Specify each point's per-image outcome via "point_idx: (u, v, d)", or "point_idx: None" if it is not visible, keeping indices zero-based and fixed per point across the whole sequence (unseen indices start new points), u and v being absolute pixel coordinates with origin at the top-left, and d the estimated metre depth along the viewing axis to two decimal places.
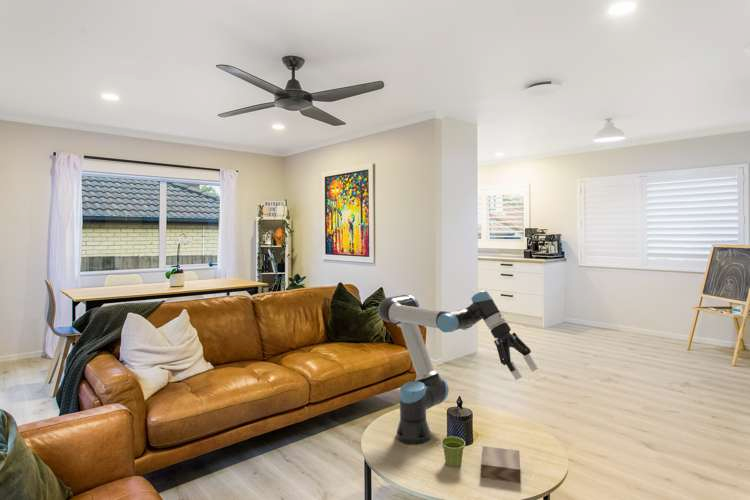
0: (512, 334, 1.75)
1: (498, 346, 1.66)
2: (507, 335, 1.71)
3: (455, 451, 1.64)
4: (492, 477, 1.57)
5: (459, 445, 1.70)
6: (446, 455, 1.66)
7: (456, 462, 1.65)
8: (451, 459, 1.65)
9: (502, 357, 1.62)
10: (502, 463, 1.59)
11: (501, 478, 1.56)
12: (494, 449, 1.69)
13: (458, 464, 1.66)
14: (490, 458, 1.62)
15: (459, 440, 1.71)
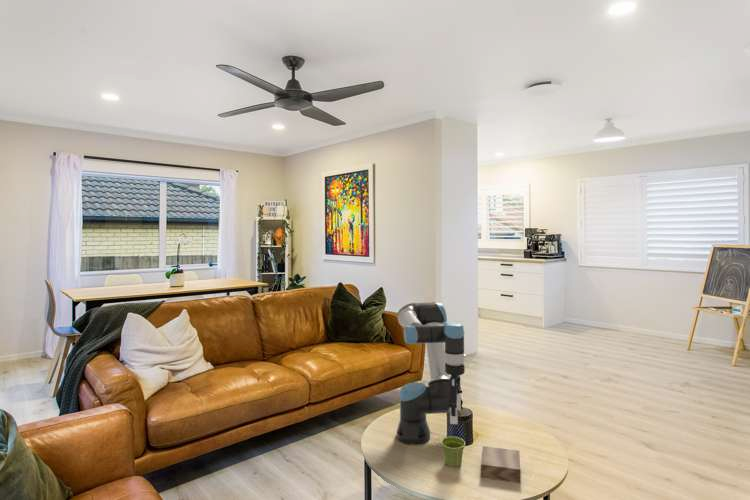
0: None
1: (452, 388, 1.60)
2: None
3: (455, 451, 1.64)
4: (492, 477, 1.57)
5: (459, 445, 1.70)
6: (446, 455, 1.66)
7: (456, 462, 1.65)
8: (451, 459, 1.65)
9: (453, 402, 1.58)
10: (502, 463, 1.59)
11: (501, 478, 1.56)
12: (494, 449, 1.69)
13: (458, 464, 1.66)
14: (490, 458, 1.62)
15: (459, 440, 1.71)
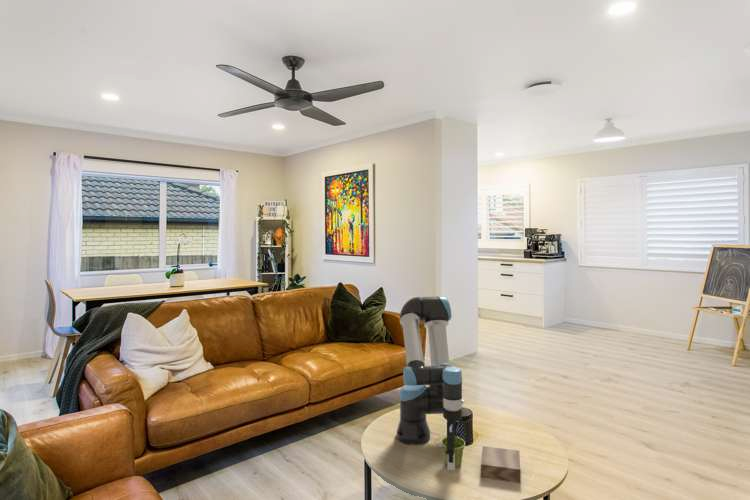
0: None
1: (450, 434, 1.61)
2: None
3: (455, 451, 1.64)
4: (492, 477, 1.57)
5: (459, 445, 1.70)
6: (446, 455, 1.66)
7: (456, 462, 1.65)
8: None
9: (450, 449, 1.59)
10: (502, 463, 1.59)
11: (501, 478, 1.56)
12: (494, 449, 1.69)
13: (458, 464, 1.66)
14: (490, 458, 1.62)
15: (459, 440, 1.71)
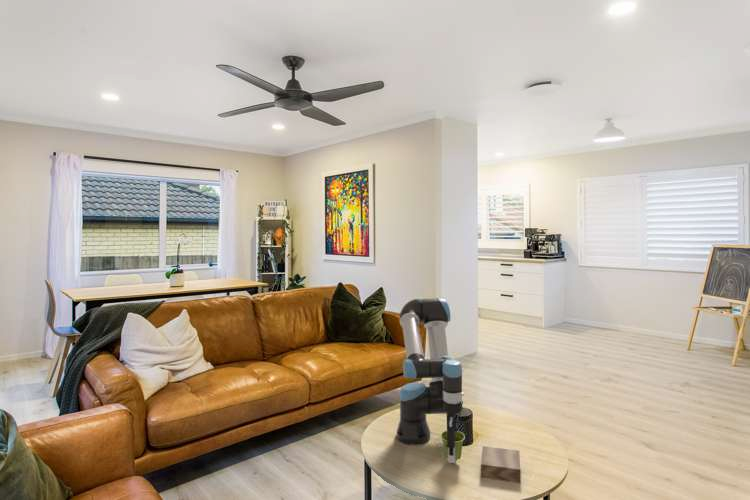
0: None
1: (450, 429, 1.62)
2: None
3: (455, 445, 1.64)
4: (492, 477, 1.57)
5: (459, 439, 1.71)
6: (446, 449, 1.67)
7: (455, 455, 1.66)
8: None
9: (450, 443, 1.61)
10: (502, 463, 1.59)
11: (501, 478, 1.56)
12: (494, 449, 1.69)
13: (458, 457, 1.66)
14: (490, 458, 1.62)
15: (459, 433, 1.71)
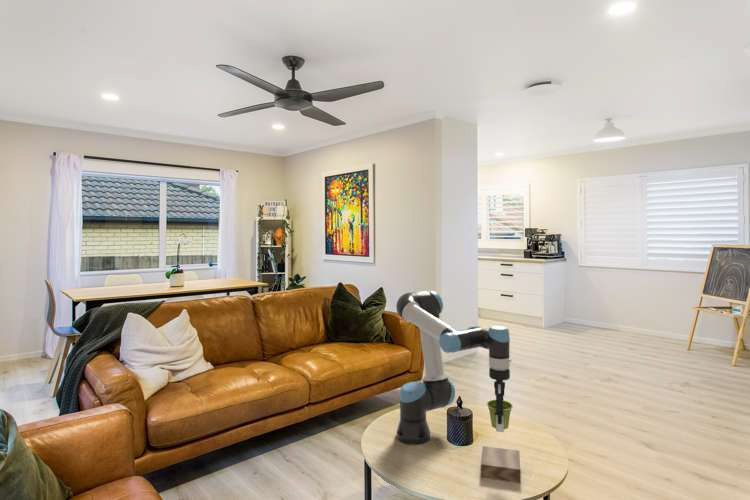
0: None
1: (498, 396, 1.56)
2: None
3: (503, 413, 1.58)
4: (492, 477, 1.57)
5: (505, 408, 1.65)
6: (493, 417, 1.60)
7: None
8: None
9: (499, 410, 1.55)
10: (502, 463, 1.59)
11: (501, 478, 1.56)
12: (494, 449, 1.69)
13: (505, 427, 1.60)
14: (490, 458, 1.62)
15: (505, 403, 1.65)
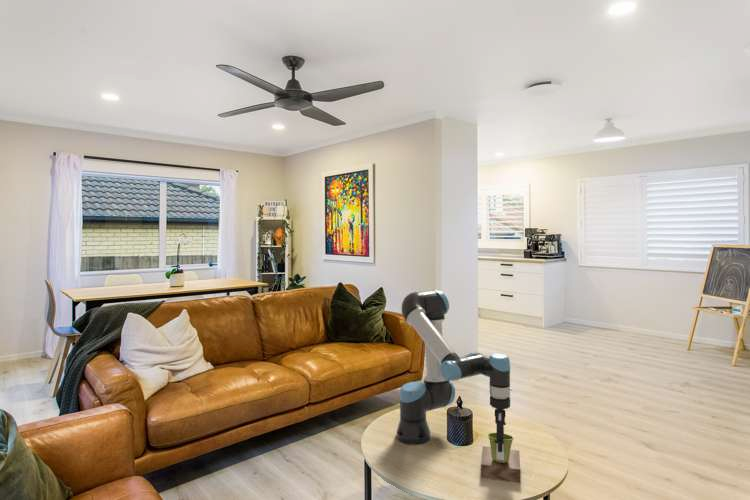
0: None
1: (499, 423, 1.55)
2: None
3: None
4: (492, 477, 1.57)
5: None
6: (493, 449, 1.58)
7: (504, 456, 1.57)
8: None
9: (500, 438, 1.53)
10: (502, 463, 1.59)
11: (501, 478, 1.56)
12: None
13: (506, 459, 1.57)
14: (490, 458, 1.62)
15: (506, 436, 1.63)
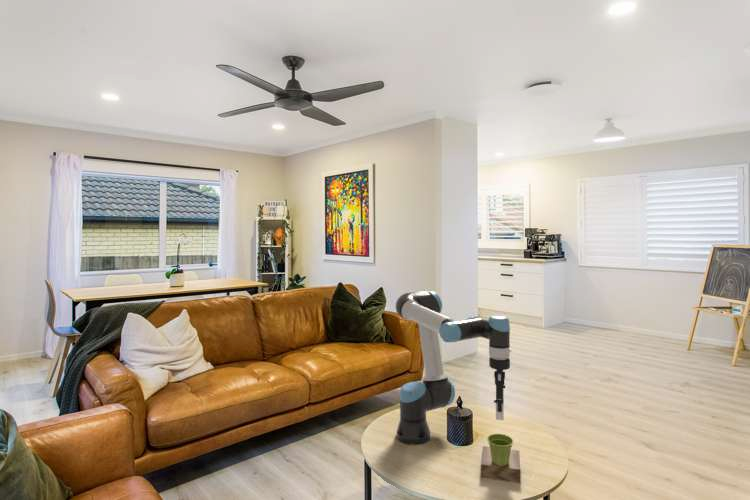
0: None
1: (498, 383, 1.55)
2: None
3: (503, 449, 1.55)
4: (492, 477, 1.57)
5: (506, 443, 1.61)
6: (493, 453, 1.57)
7: (503, 460, 1.56)
8: (498, 458, 1.56)
9: (499, 397, 1.53)
10: None
11: (501, 478, 1.56)
12: None
13: (506, 463, 1.57)
14: (490, 458, 1.62)
15: (506, 437, 1.62)
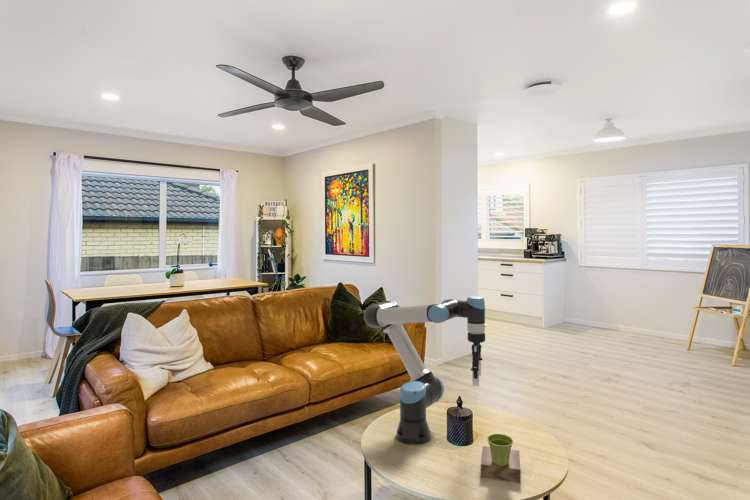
0: None
1: (474, 353, 1.79)
2: (479, 343, 1.86)
3: (503, 449, 1.55)
4: (492, 477, 1.57)
5: (506, 443, 1.61)
6: (493, 453, 1.57)
7: (503, 460, 1.56)
8: (498, 458, 1.56)
9: (475, 365, 1.77)
10: None
11: (501, 478, 1.56)
12: None
13: (506, 463, 1.57)
14: (490, 458, 1.62)
15: (506, 437, 1.62)
